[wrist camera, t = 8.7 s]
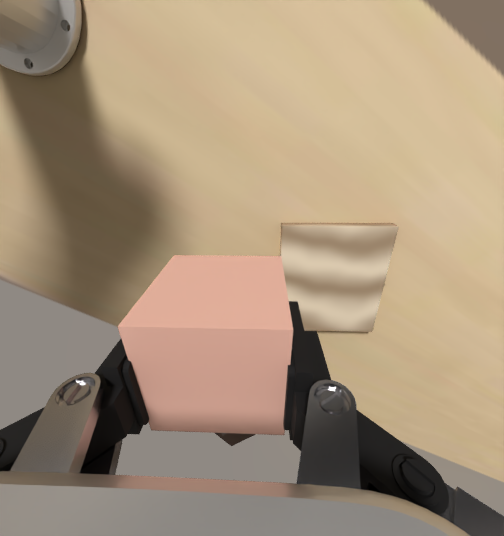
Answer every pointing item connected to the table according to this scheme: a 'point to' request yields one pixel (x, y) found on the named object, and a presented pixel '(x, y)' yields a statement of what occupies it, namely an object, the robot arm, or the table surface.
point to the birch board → (336, 272)
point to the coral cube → (213, 345)
